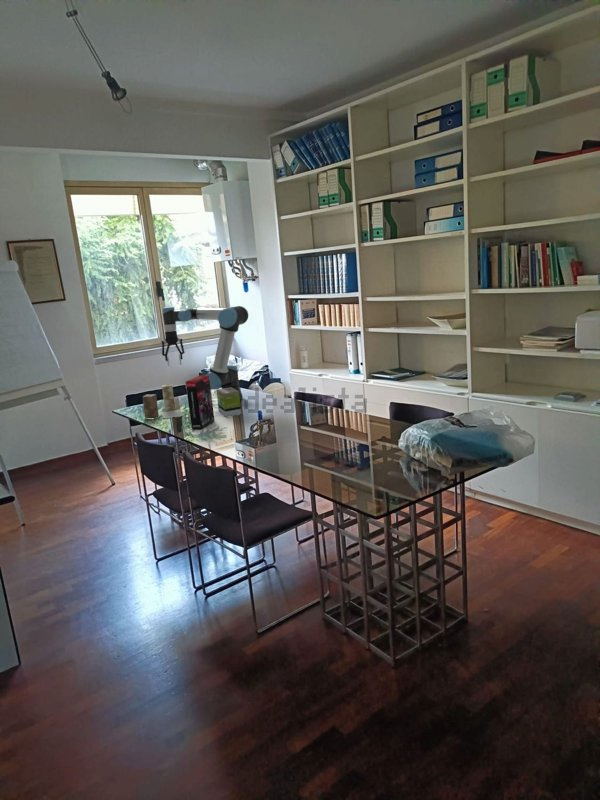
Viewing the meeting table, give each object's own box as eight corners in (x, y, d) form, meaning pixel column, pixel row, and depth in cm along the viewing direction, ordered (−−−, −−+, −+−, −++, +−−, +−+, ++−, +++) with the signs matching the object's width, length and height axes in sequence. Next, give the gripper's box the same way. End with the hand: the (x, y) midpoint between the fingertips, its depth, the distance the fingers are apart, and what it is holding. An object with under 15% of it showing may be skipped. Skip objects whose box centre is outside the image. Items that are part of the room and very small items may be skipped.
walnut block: (158, 416, 356) (156, 394, 353) (154, 419, 350) (151, 396, 347) (149, 416, 357) (146, 394, 354) (145, 419, 352) (142, 396, 349)
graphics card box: (201, 430, 319) (196, 381, 313) (190, 429, 321) (184, 381, 315) (215, 421, 335) (210, 375, 329) (204, 421, 337) (199, 375, 331)
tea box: (218, 412, 356) (215, 389, 352) (233, 410, 360) (231, 386, 356) (225, 417, 342) (223, 393, 339) (242, 414, 346) (239, 390, 343)
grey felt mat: (180, 410, 369) (180, 409, 369) (183, 416, 352) (183, 415, 352) (160, 412, 366) (160, 412, 366) (163, 419, 349) (163, 418, 349)
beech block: (174, 408, 375) (171, 384, 371) (175, 410, 369) (172, 385, 366) (164, 409, 373) (161, 385, 370) (165, 411, 368) (162, 386, 364)
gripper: (185, 328, 390) (189, 362, 395) (154, 331, 384) (158, 366, 389) (186, 329, 383) (190, 364, 388) (155, 332, 377) (159, 367, 382)
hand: (174, 365), depth 388 cm, fingers open, 7 cm apart
